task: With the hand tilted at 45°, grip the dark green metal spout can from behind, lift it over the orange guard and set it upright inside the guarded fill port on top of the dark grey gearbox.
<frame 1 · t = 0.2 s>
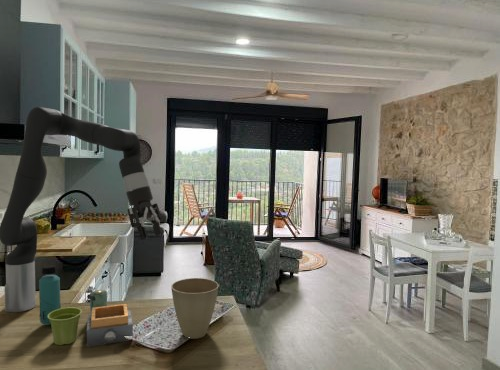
hand: (151, 237, 123), 31 cm above the counter, tool tilted 20°, fingers open, 8 cm apart
gearbox: (110, 334, 122), on the counter
plant pot 2: (65, 341, 117), on the counter
plant pot: (195, 334, 123), on the counter
beverage bottle: (50, 325, 128), on the counter
spout can: (98, 318, 134), on the counter
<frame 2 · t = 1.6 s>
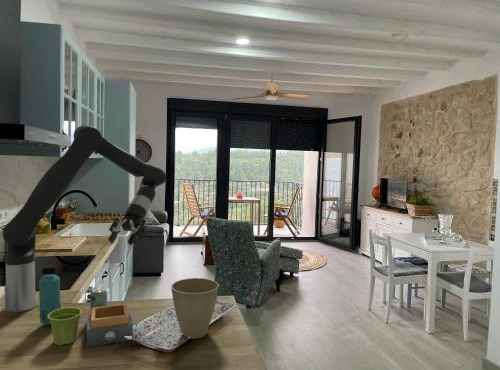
hand: (119, 242, 144), 24 cm above the counter, tool tilted 45°, fingers open, 8 cm apart
nothing on the counter moved.
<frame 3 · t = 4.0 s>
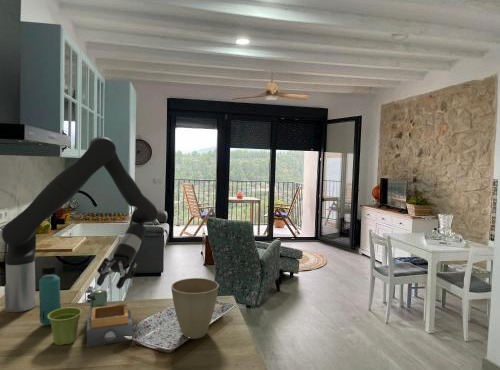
hand: (108, 286, 139), 10 cm above the counter, tool tilted 45°, fingers open, 8 cm apart
nothing on the counter moved.
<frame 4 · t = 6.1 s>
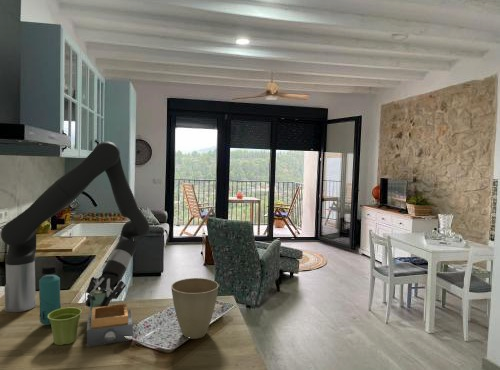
hand: (95, 307, 132), 4 cm above the counter, tool tilted 45°, fingers closed on spout can, 5 cm apart
spout can: (98, 317, 134), on the counter, touching gripper
everything else where it was.
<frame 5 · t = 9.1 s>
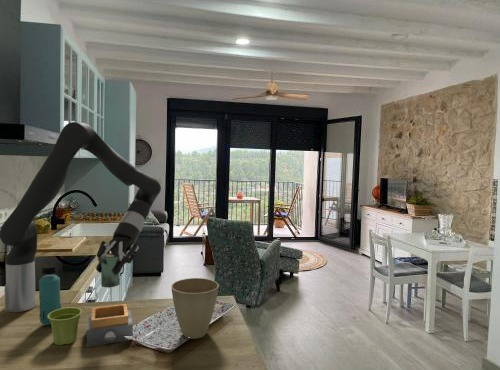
hand: (106, 272, 119), 20 cm above the counter, tool tilted 45°, fingers closed on spout can, 5 cm apart
spout can: (110, 284, 122), point 16 cm above the counter, touching gripper
everything else where it was.
when the fingers open (11 cm above the counter, at t = 12.4 s): spout can drops 1 cm, resting on gearbox.
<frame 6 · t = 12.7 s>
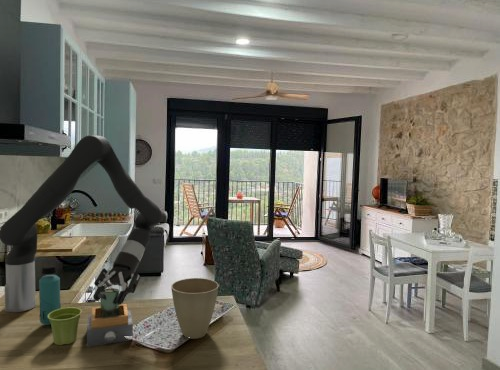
hand: (106, 301, 120), 11 cm above the counter, tool tilted 45°, fingers open, 8 cm apart
spout can: (110, 319, 122), point 5 cm above the counter, touching gearbox
everything else where it was.
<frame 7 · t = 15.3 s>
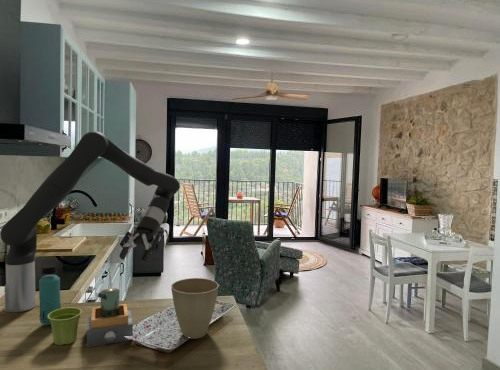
hand: (131, 259, 131), 21 cm above the counter, tool tilted 45°, fingers open, 8 cm apart
nothing on the counter moved.
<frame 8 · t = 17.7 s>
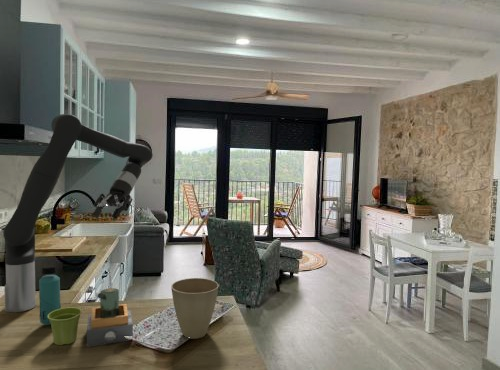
hand: (104, 217, 144), 34 cm above the counter, tool tilted 45°, fingers open, 8 cm apart
nothing on the counter moved.
at the end: spout can 0.1 cm off-centre on the gearbox, point 5.0 cm above the gearbox's base; spout can tilted 1°; the gripper is holding nothing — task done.
